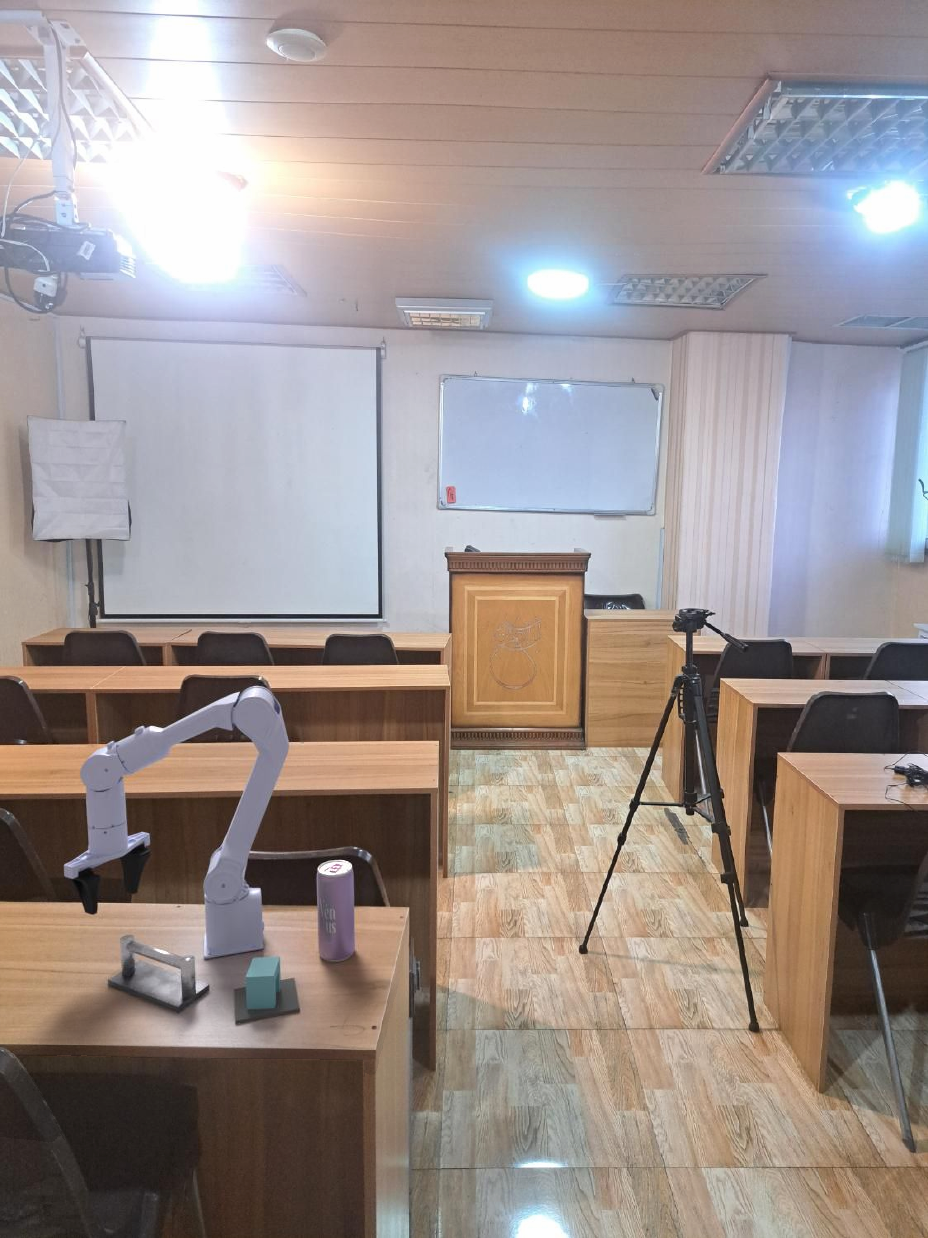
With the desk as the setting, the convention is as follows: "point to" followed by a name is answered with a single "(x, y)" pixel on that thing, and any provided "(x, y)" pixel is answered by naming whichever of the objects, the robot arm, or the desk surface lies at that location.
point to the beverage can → (335, 910)
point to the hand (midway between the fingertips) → (111, 902)
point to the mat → (284, 1005)
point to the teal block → (263, 983)
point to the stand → (157, 976)
